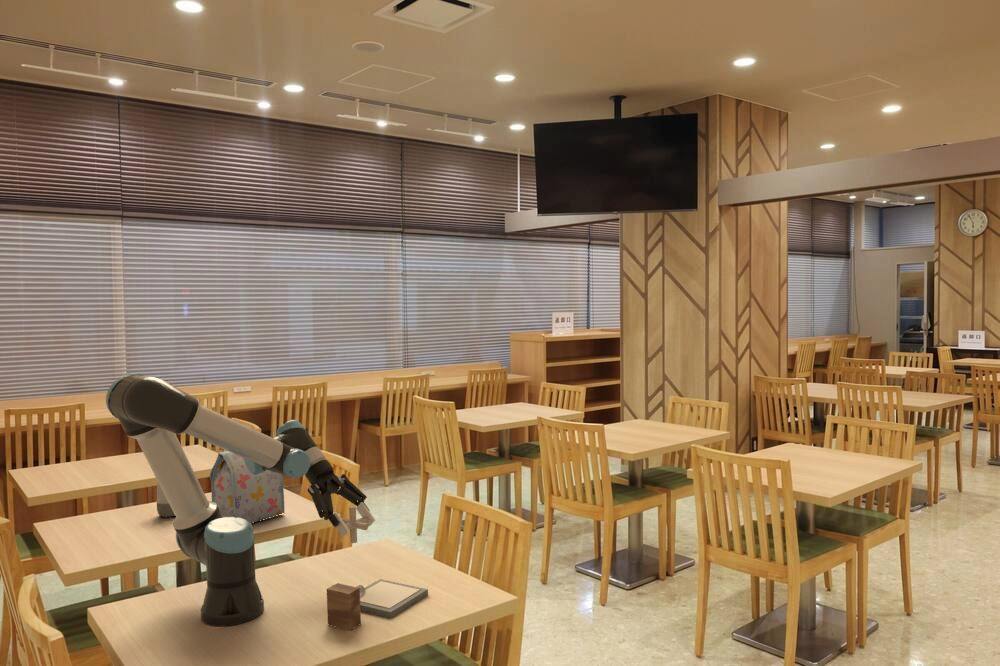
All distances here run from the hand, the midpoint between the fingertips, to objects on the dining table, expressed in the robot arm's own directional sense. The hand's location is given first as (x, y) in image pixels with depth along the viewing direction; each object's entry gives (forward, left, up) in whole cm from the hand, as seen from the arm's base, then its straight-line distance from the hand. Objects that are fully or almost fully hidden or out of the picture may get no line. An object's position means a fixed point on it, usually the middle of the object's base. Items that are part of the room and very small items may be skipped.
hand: (359, 528), depth 209 cm
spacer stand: (-11, -13, -16) cm, 23 cm away
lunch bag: (+29, +77, -16) cm, 84 cm away
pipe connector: (0, +2, -4) cm, 5 cm away
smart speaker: (+20, +108, -16) cm, 111 cm away
